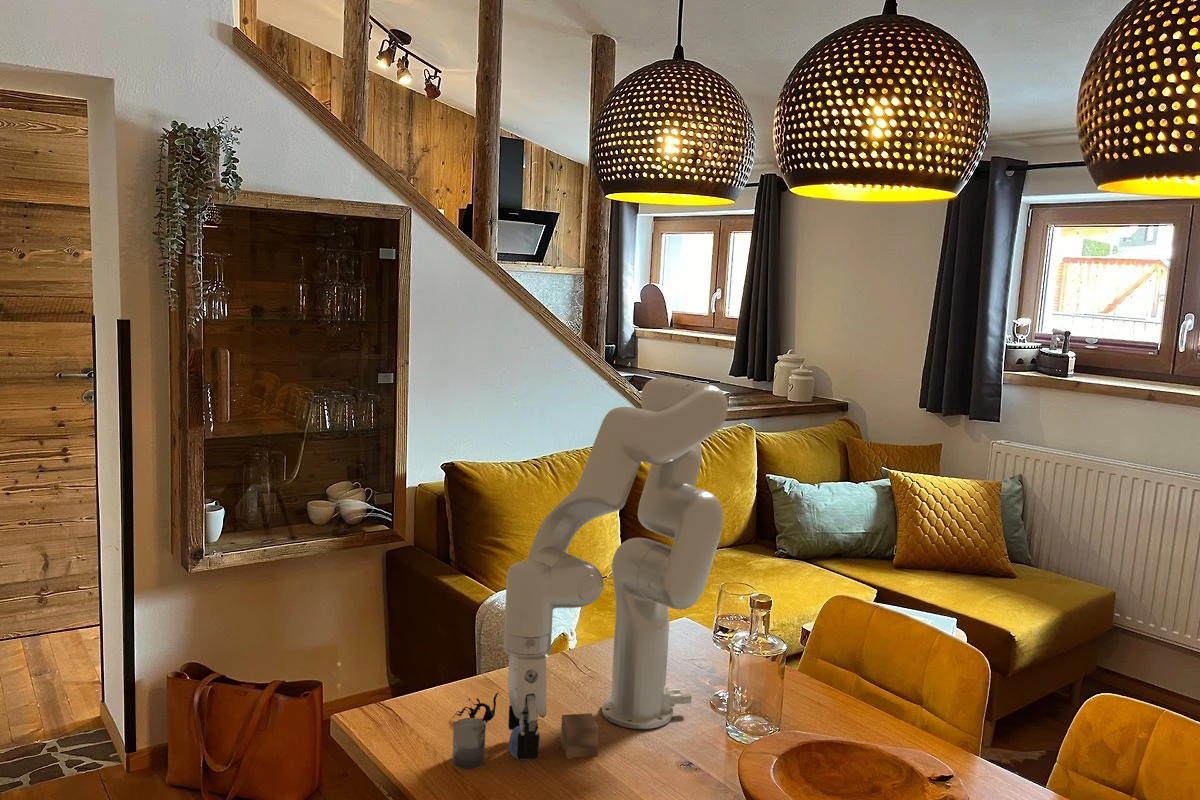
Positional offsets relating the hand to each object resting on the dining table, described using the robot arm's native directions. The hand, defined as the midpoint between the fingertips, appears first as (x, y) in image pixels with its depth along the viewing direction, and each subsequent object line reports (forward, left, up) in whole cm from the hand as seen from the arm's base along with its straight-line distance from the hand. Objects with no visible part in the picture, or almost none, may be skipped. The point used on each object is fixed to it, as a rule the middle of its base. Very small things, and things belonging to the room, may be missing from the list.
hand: (522, 742), depth 150 cm
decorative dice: (0, 0, -2) cm, 2 cm away
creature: (+7, -12, -2) cm, 14 cm away
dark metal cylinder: (+9, +1, -2) cm, 9 cm away
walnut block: (-9, 0, -2) cm, 10 cm away
